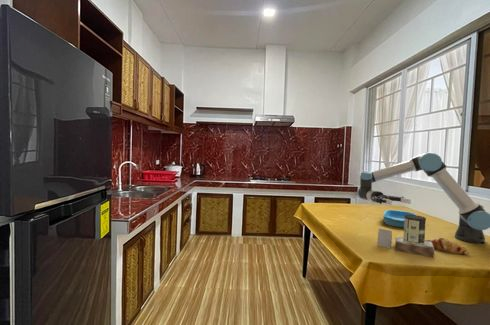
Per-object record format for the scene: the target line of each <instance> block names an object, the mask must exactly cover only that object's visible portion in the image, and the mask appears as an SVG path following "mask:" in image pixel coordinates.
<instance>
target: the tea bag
mask: <svg viewBox="0 0 490 325" xmlns="http://www.w3.org/2000/svg"><path fill="white" fill-rule="evenodd" d="M392 234H393V231H392V230H389V229H384V228H378V232H377V241H376V242H377V245H378V246H377V247H380V246H383V247H382V248H385V247H387V248H386V249H389V248H390V249H391V248H392V244H393V242H392V241H393V240H392V239H393V237H392V236H393V235H392Z"/></svg>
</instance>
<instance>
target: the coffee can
mask: <svg viewBox="0 0 490 325" xmlns="http://www.w3.org/2000/svg"><path fill="white" fill-rule="evenodd" d="M426 220H427V218H426V217H425V216H421V215H417V214H416V215H404V228H403V237H404V239H403V240H404V241H406V242H408V243H412V244H424V243H425V242H424V241H425V239H426V238H425V236H426Z"/></svg>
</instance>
